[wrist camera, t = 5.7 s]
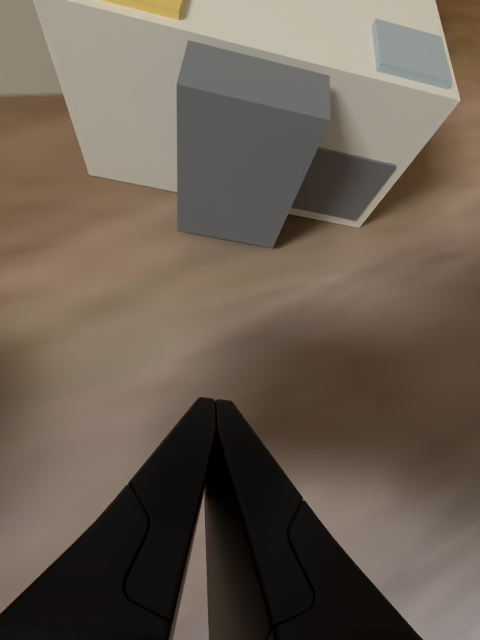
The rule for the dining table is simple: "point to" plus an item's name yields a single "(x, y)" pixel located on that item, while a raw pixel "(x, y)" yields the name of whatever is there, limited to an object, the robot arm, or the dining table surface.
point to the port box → (270, 44)
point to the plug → (244, 141)
